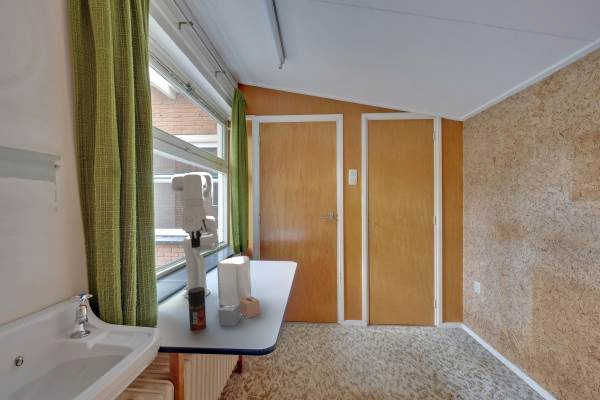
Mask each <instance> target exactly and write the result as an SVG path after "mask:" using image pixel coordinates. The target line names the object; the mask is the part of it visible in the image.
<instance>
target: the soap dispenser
mask: <svg viewBox="0 0 600 400" xmlns="http://www.w3.org/2000/svg"><path fill="white" fill-rule="evenodd" d="M250 261H251V259H250V257H249V256H247V255H239V256H233V257H230V258H225V259H222V260H219V261H217V262H216V266H217V267H216V269H217V273H216V274H217V290H218V291H217V292H218V305H219V306H221V307H223V306H224V305H225V304H240V300H242V299H245V298H248V297H251V296H252V281H251V280H252V279H251V278H252V277H251V262H250Z"/></svg>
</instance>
